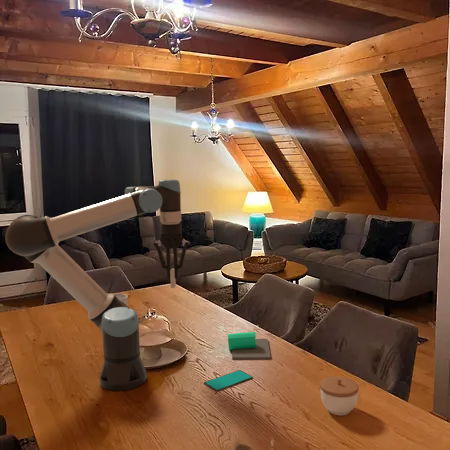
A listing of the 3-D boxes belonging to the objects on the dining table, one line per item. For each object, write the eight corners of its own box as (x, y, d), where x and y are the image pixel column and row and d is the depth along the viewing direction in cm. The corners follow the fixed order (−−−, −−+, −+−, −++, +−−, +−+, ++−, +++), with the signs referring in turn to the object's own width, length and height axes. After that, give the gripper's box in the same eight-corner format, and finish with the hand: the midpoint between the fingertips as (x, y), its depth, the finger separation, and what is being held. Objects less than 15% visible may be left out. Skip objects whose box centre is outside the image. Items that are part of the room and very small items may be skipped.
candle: (227, 331, 182) (258, 328, 182) (228, 337, 187) (258, 335, 187) (228, 346, 179) (260, 343, 179) (229, 352, 184) (260, 349, 184)
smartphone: (203, 382, 156) (239, 369, 165) (203, 384, 156) (239, 371, 165) (216, 390, 150) (253, 377, 159) (216, 393, 150) (253, 379, 159)
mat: (270, 359, 174) (270, 356, 174) (232, 359, 174) (232, 357, 174) (267, 340, 192) (267, 338, 192) (232, 340, 192) (232, 339, 192)
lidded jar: (334, 423, 131) (335, 391, 130) (312, 405, 141) (312, 375, 139) (366, 414, 135) (366, 383, 134) (342, 397, 145) (342, 368, 143)
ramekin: (107, 306, 243) (106, 292, 242) (132, 306, 241) (131, 293, 240) (96, 314, 230) (95, 300, 229) (123, 315, 228) (122, 301, 227)
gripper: (190, 221, 176) (192, 283, 179) (154, 221, 176) (157, 284, 179) (188, 223, 168) (190, 289, 171) (151, 224, 168) (153, 289, 172)
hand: (173, 286), depth 175 cm, fingers closed
